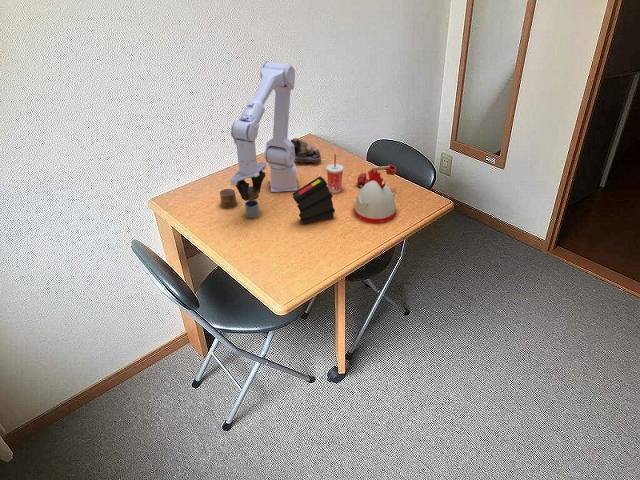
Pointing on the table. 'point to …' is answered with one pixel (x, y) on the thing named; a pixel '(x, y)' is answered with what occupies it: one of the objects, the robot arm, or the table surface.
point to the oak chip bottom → (228, 204)
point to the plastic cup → (252, 209)
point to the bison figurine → (305, 151)
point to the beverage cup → (334, 176)
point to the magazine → (314, 201)
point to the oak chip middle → (227, 195)
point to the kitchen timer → (375, 201)
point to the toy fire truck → (389, 170)
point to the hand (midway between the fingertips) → (250, 196)
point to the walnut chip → (253, 193)
